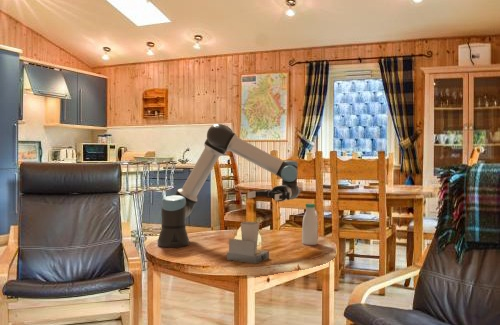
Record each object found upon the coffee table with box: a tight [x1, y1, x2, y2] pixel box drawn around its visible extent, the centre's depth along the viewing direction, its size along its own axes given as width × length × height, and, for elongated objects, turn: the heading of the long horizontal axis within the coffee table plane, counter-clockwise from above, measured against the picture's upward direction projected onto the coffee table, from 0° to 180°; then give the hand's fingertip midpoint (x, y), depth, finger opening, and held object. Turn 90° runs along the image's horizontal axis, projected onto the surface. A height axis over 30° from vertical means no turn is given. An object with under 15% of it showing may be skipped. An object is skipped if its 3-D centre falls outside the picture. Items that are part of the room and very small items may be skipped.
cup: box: [240, 221, 260, 252], centre depth 207 cm, size 8×8×12 cm
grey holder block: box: [226, 238, 270, 265], centre depth 206 cm, size 14×12×9 cm
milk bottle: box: [301, 203, 319, 246], centre depth 241 cm, size 8×8×20 cm
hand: (261, 196), depth 215 cm, fingers open, 13 cm apart
